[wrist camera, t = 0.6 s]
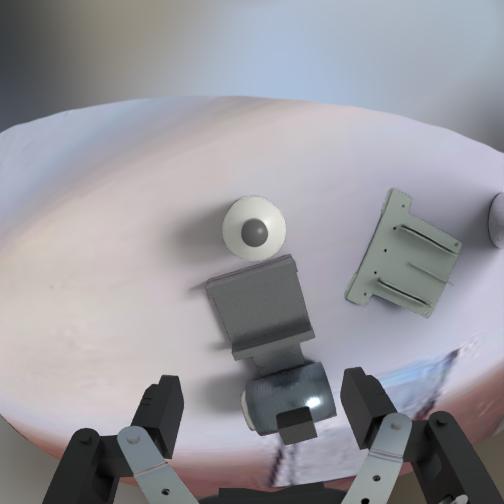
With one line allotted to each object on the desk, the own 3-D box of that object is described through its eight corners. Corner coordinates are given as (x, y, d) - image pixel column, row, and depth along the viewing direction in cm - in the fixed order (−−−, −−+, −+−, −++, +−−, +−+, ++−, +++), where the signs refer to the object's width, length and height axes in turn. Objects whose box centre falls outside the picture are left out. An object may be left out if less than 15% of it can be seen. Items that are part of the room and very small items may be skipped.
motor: (290, 254, 33) (308, 284, 23) (326, 389, 38) (343, 438, 28) (200, 281, 33) (183, 321, 23) (255, 409, 38) (258, 460, 28)
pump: (269, 189, 31) (277, 190, 22) (283, 236, 32) (296, 255, 24) (220, 204, 31) (211, 212, 23) (236, 251, 32) (232, 275, 24)
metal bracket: (478, 233, 27) (429, 338, 30) (459, 230, 32) (417, 323, 36) (387, 181, 29) (337, 298, 32) (378, 186, 35) (335, 286, 38)
